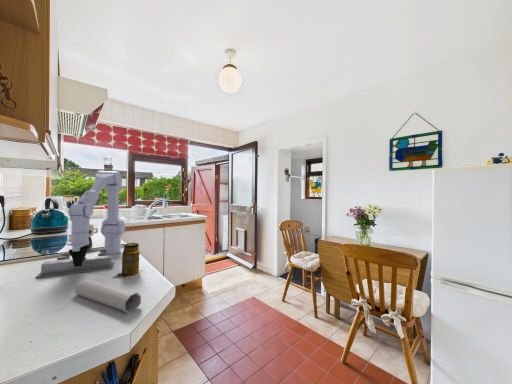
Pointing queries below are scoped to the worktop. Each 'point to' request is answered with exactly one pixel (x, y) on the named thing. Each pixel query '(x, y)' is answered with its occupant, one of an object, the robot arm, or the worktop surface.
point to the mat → (75, 271)
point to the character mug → (91, 233)
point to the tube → (109, 295)
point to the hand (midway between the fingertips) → (79, 264)
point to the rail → (68, 266)
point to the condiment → (130, 261)
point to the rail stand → (67, 255)
